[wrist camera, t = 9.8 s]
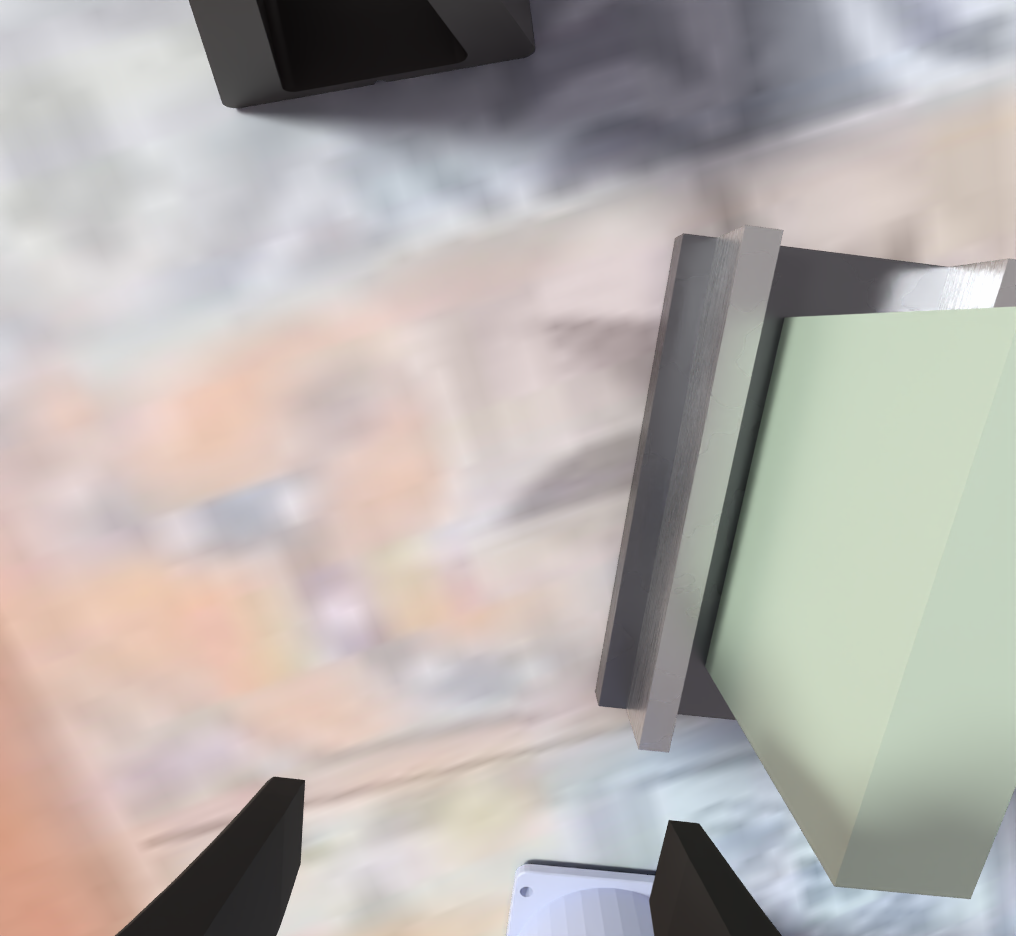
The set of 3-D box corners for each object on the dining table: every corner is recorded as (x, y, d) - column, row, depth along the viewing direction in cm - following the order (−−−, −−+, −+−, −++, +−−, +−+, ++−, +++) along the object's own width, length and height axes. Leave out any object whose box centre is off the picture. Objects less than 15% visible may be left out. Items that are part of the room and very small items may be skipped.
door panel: (787, 675, 20) (970, 898, 12) (705, 666, 20) (834, 886, 12) (881, 329, 17) (1200, 328, 9) (784, 317, 17) (1023, 306, 9)
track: (992, 277, 17) (1082, 267, 15) (855, 718, 21) (907, 776, 18) (675, 238, 17) (707, 220, 14) (595, 692, 21) (608, 746, 18)
